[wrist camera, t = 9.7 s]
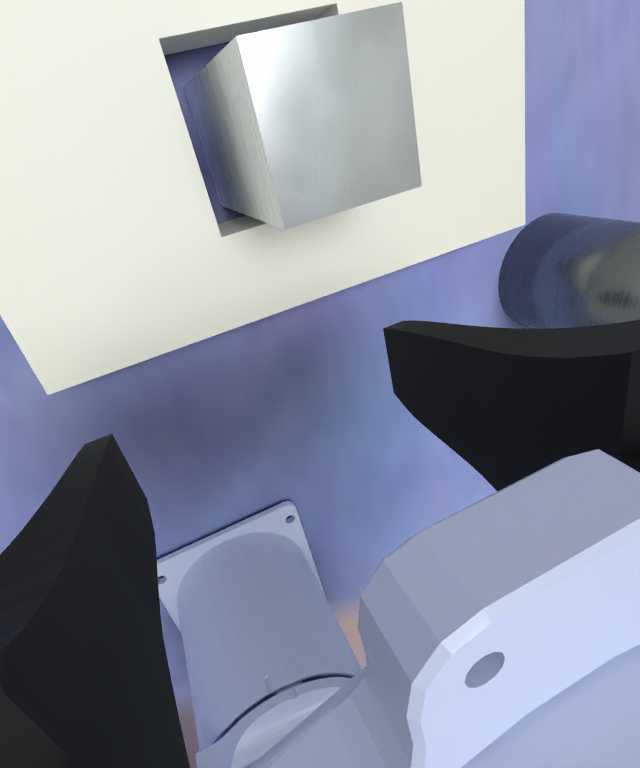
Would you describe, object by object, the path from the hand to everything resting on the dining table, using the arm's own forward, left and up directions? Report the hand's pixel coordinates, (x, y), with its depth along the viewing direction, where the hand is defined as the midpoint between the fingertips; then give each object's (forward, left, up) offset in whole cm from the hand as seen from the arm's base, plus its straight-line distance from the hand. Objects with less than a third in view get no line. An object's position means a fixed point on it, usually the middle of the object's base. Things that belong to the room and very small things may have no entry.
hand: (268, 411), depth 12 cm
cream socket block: (+6, -4, -9) cm, 12 cm away
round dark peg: (-4, -18, -9) cm, 21 cm away
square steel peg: (+6, -4, -9) cm, 12 cm away
